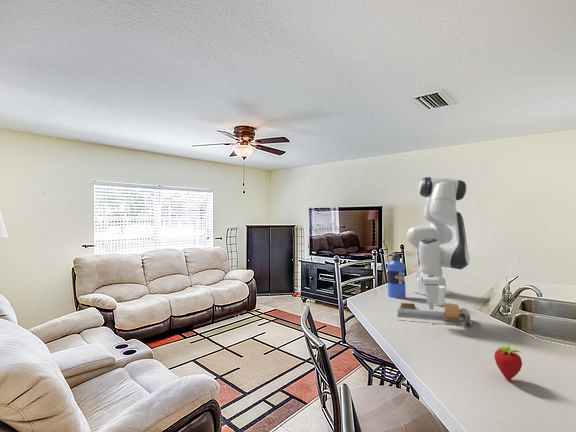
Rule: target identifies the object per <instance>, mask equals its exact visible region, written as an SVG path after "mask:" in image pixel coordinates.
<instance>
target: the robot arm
mask: <svg viewBox="0 0 576 432" xmlns="http://www.w3.org/2000/svg"><path fill="white" fill-rule="evenodd" d="M467 190H468V189H467V184H466V182H465V181H464V180H460V179H453V178H448V177H431V176H426V177H423V178H421V180H420V182H419V184H418V191H419V195H420V196H421V197H425V198H426V200H425V205H424V208H423V209H424V211H423V212H422V213H423V218H424V219H425V220H426V221H427V222H429V223H430V224H429V225H420V226H419V225H417V226H412V227H410V228H408V230H407V232H406V239H407V242H408V243H410V244H411V245H412V246H413V247H414V248H415V249H416V251H417V253H418V254H417V255H418V262H419V267H418V277H417V279H416V288H415V289H414V290H413V293H416V294H420V295H422V296H423V295H424V296H426V301H427V302H426V303H428V309H429V311H435V305H434V304H436V303H437V301H438V289H439V285H441V286H445V296H447V295H450V294H451V293H450V291H448V290H447V284H446V282H447V281H446V278H444V277H443V269H442V268H451V269H456V270H462V269H465V268H466V267H467V266H468V265H469V264H470V254H469V250H468V246H467V242H468V241H467V237H466V229H465V228H466V227H465V220H464V218H463V216H462V213H461V212H459V211H458V210H457V208H456V207H457V206H456V205H457V201H461V200H463V199H464V197H465V196H466V194H467ZM449 226H450V227H452V228H453V231H452V229H451V228H450V227H449ZM453 235H454V244H453V245H446V244H448V243H451V242H452V240H453Z"/></svg>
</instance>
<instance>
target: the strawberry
mask: <svg viewBox="0 0 576 432" xmlns="http://www.w3.org/2000/svg"><path fill="white" fill-rule="evenodd" d="M511 344H512V342H510V343H509V344H508V346H504V345H501V347H498V348H497V349H496V351H494V357H493V358H494V360H495V363H496V364H495V365H496V366H497V368H498V369H499V371H500V373H501V374H502V375H503V377H504V379H506V380H507V381H511V380H512V379H513V378H515V377H516V376H517V375H518V374H519V373H520V372H521V370H522V366H523V361H522V358H521V356H520V354H518V353H521V351H520V350H517V349H512V348H511V347H509V346H510V345H511Z"/></svg>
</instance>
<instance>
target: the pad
mask: <svg viewBox="0 0 576 432" xmlns="http://www.w3.org/2000/svg"><path fill="white" fill-rule="evenodd" d="M399 309H409V310H417V306H416V303H412V302H410V303H409V302H401V303H400V305H399Z"/></svg>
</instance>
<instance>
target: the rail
mask: <svg viewBox="0 0 576 432" xmlns="http://www.w3.org/2000/svg"><path fill="white" fill-rule="evenodd" d="M396 317H397V318H406V319H416V320H417V319H419V320H427V321H428V320H430V321H440V322H452V323H454V322H455V323H460V324H461V325H460V324H455V326H457V327H468V328H473V322H472V321H471V315H470V313H469V311H468V309H467V308H462V307H461V312H459V318H448V317H445V311H435V310H419V309H416V310H409V309H400V308H397V316H396ZM416 320H415V321H414V320H410V322H412V323H413V322H414V323H418V321H416ZM398 321H399V322H400V321H401V322H406V320H404V319H398ZM427 321H421V323H426V324H429V322H427ZM434 324H435V325H441V323H437V322H433V325H434ZM444 325H447V326H452V324H450V323H444Z"/></svg>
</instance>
